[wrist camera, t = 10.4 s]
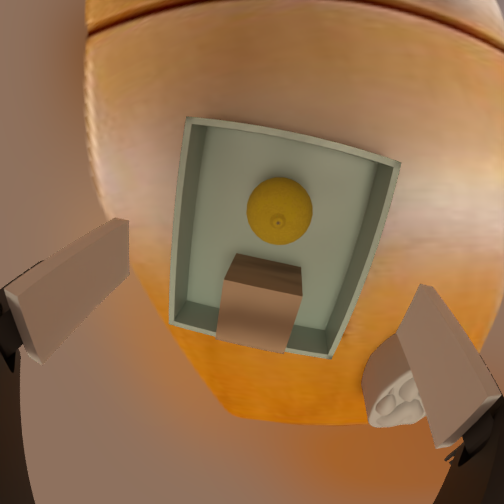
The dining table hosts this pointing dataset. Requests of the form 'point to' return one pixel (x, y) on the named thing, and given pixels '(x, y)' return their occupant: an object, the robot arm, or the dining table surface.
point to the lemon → (279, 211)
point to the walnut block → (259, 303)
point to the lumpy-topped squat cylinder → (390, 387)
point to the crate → (296, 253)
